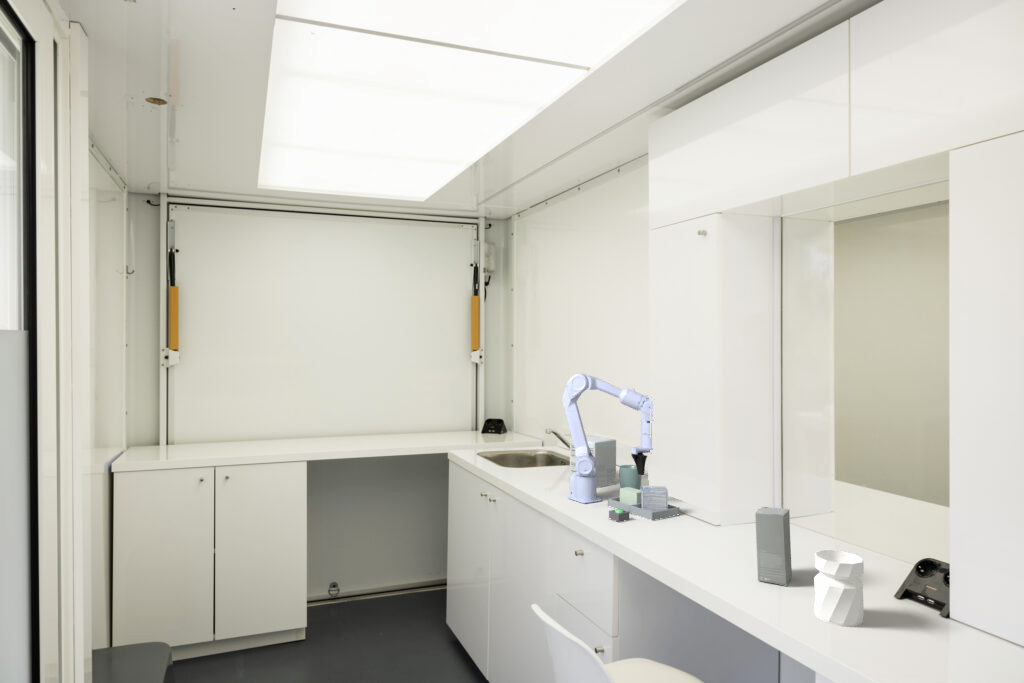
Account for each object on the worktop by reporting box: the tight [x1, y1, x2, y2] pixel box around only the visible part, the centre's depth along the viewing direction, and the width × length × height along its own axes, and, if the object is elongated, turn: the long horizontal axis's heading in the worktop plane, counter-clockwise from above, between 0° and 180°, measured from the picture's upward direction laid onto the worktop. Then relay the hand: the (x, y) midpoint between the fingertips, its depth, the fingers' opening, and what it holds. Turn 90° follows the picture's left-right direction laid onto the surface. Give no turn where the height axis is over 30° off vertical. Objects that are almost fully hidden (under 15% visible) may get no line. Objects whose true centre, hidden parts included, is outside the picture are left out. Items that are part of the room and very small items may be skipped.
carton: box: [619, 487, 641, 505], centre depth 212 cm, size 8×4×6 cm, turn 33°
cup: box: [618, 464, 642, 490], centre depth 231 cm, size 8×8×10 cm
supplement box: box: [569, 435, 617, 489], centre depth 249 cm, size 13×13×18 cm
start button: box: [614, 508, 623, 513], centre depth 197 cm, size 3×3×3 cm
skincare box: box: [754, 506, 793, 587], centre depth 147 cm, size 8×7×16 cm
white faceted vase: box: [813, 549, 865, 627], centre depth 126 cm, size 9×9×12 cm
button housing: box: [608, 509, 630, 522], centre depth 197 cm, size 4×4×2 cm
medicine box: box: [640, 485, 669, 512], centre depth 204 cm, size 8×4×9 cm, turn 84°
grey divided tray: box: [607, 496, 680, 521], centre depth 208 cm, size 21×12×2 cm, turn 33°
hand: (649, 473), depth 217 cm, fingers open, 7 cm apart
